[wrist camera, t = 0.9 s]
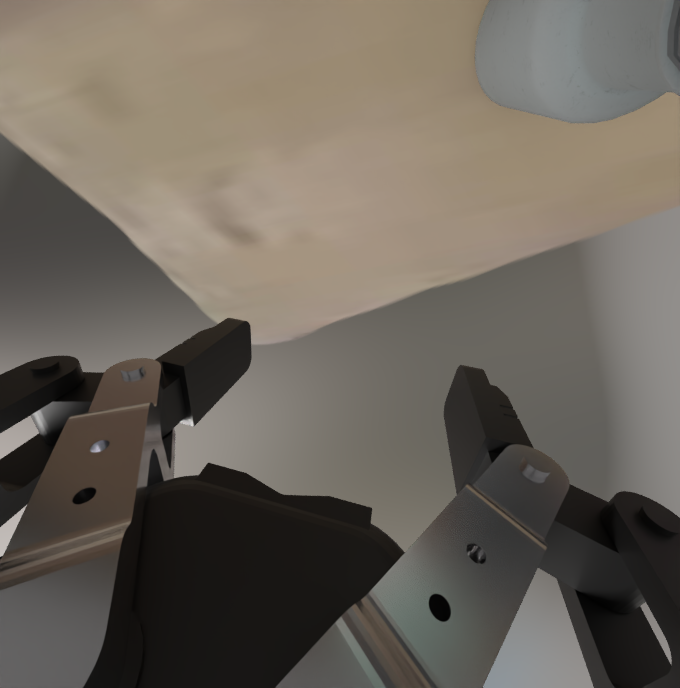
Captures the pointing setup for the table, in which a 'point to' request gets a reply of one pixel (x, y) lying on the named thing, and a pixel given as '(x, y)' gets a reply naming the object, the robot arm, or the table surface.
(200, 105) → the table surface
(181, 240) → the table surface
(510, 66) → the water bottle
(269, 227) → the table surface
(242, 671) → the robot arm
